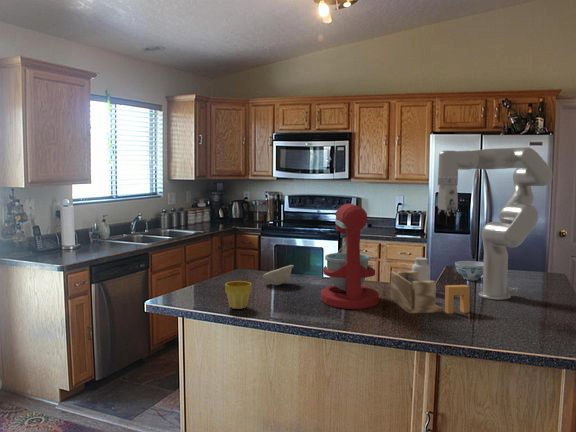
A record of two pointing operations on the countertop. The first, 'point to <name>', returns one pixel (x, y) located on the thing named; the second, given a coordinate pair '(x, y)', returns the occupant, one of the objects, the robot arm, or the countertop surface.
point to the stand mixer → (349, 264)
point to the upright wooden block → (456, 290)
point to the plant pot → (238, 293)
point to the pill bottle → (422, 269)
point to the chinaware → (469, 269)
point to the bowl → (279, 275)
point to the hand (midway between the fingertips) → (445, 225)
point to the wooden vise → (413, 292)
